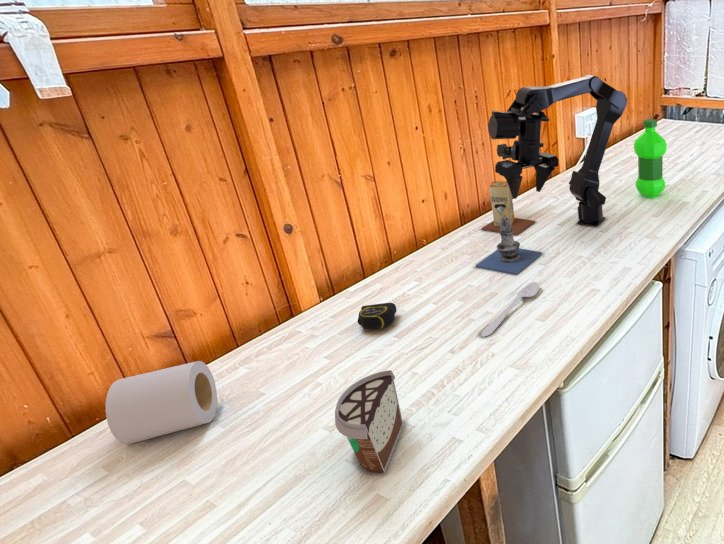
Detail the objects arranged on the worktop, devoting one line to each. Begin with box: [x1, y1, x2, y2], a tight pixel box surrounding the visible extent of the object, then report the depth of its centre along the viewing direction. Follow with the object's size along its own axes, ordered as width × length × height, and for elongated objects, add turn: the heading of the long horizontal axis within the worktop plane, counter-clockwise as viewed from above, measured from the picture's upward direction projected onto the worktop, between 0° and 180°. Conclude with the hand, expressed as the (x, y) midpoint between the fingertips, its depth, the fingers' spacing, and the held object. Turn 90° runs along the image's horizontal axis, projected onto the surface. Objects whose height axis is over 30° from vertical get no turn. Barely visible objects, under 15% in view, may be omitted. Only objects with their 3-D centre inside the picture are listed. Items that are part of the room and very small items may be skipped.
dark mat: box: [481, 217, 536, 236], centre depth 154 cm, size 12×10×1 cm
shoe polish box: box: [488, 180, 516, 226], centre depth 153 cm, size 5×5×12 cm
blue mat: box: [475, 247, 542, 276], centre depth 133 cm, size 12×12×1 cm
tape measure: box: [357, 302, 397, 331], centre depth 108 cm, size 7×7×4 cm
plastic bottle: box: [633, 118, 668, 199], centre depth 169 cm, size 10×10×25 cm
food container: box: [334, 369, 404, 474], centre depth 76 cm, size 12×6×10 cm, turn 5°
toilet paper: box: [105, 360, 218, 445], centre depth 82 cm, size 10×10×10 cm
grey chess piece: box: [496, 215, 521, 263], centre depth 131 cm, size 6×6×12 cm
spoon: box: [480, 281, 540, 338], centre depth 111 cm, size 4×21×2 cm, turn 157°
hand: (526, 194), depth 141 cm, fingers open, 9 cm apart
